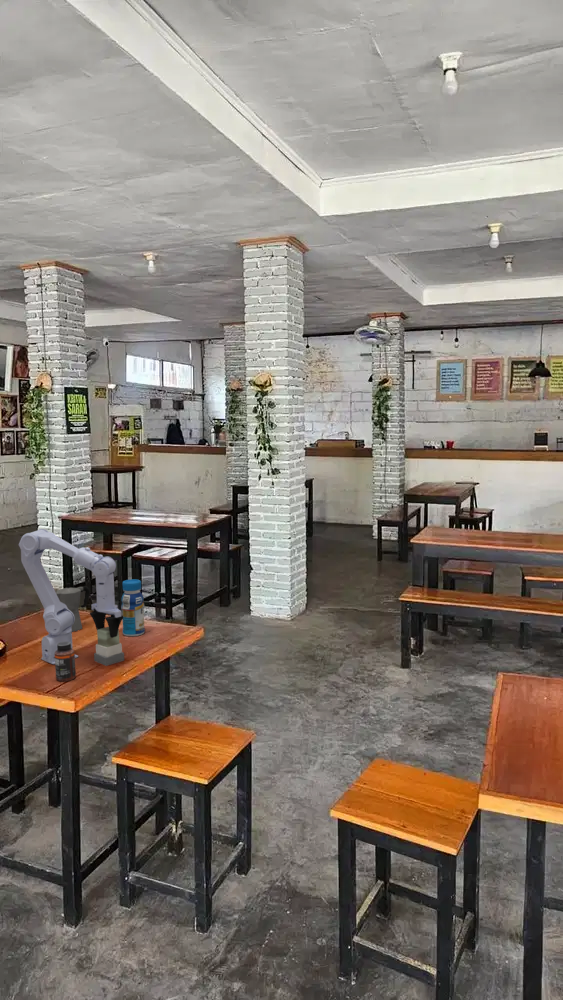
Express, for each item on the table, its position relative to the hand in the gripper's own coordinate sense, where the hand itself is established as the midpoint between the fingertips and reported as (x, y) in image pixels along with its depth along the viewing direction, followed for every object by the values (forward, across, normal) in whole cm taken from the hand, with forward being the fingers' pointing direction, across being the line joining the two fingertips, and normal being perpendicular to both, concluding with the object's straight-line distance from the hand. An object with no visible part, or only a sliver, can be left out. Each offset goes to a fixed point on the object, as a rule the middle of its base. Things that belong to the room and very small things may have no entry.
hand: (107, 634), depth 233 cm
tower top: (+6, 0, 0) cm, 6 cm away
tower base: (+9, 0, 0) cm, 9 cm away
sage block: (+3, 0, 0) cm, 3 cm away
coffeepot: (+9, +41, -12) cm, 44 cm away
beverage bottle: (+9, +18, -23) cm, 31 cm away
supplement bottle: (+9, -4, +18) cm, 21 cm away
